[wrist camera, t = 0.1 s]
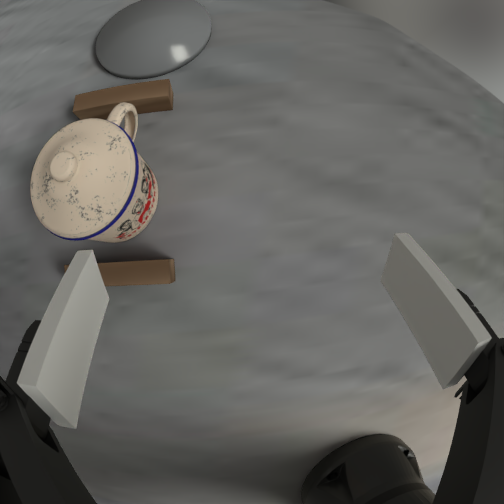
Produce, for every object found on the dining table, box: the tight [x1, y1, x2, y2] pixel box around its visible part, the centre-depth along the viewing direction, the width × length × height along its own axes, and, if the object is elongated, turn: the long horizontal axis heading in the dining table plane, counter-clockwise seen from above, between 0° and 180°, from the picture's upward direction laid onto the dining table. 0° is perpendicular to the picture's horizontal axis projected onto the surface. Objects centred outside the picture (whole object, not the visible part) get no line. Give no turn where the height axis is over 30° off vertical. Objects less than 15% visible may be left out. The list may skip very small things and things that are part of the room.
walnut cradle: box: [64, 79, 175, 286], centre depth 26 cm, size 19×10×3 cm, turn 3°
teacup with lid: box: [30, 102, 158, 243], centre depth 21 cm, size 12×9×12 cm
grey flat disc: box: [96, 0, 212, 79], centre depth 27 cm, size 14×14×1 cm
